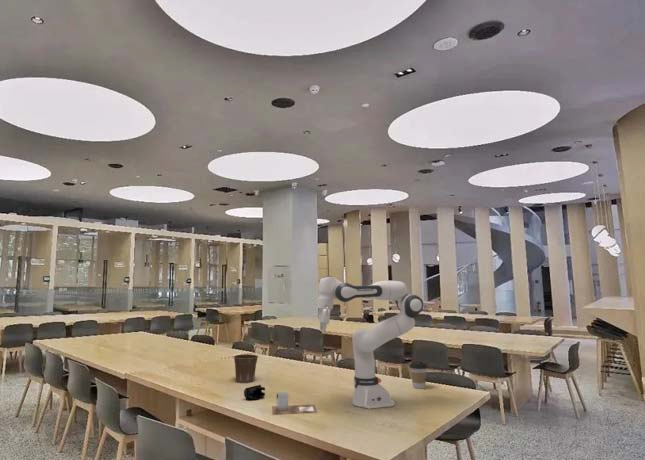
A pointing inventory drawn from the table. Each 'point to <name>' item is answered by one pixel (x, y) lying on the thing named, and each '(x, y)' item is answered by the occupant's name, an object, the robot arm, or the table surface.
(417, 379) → the coffee cup
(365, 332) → the robot arm
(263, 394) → the end cap
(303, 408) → the walnut board
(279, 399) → the tall grey pillar
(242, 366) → the plant pot
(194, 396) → the table surface
